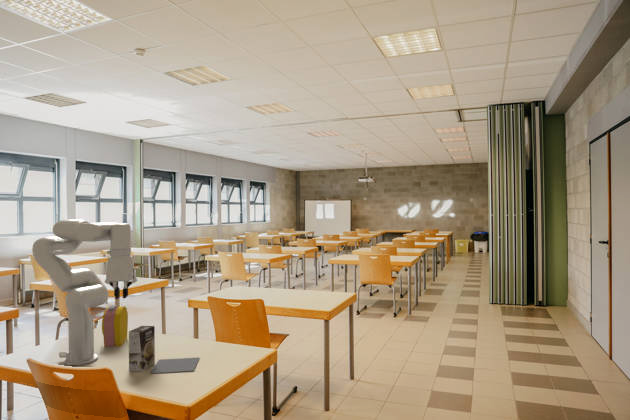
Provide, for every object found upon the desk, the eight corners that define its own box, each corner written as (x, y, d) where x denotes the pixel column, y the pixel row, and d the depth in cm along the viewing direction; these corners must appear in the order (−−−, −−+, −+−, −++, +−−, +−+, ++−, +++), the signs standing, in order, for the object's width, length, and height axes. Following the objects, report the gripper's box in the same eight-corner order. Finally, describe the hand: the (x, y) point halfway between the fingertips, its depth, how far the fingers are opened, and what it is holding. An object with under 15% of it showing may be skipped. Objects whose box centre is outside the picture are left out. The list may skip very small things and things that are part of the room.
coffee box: (142, 372, 168) (142, 331, 168) (128, 371, 169) (127, 331, 169) (155, 363, 177) (155, 325, 177) (142, 362, 178) (141, 325, 178)
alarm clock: (110, 338, 212) (110, 302, 212) (128, 337, 214) (127, 301, 214) (101, 348, 198) (101, 309, 198) (119, 346, 199) (119, 308, 199)
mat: (149, 374, 166) (149, 373, 166) (158, 360, 180) (158, 359, 180) (193, 371, 168) (193, 370, 168) (199, 358, 183) (199, 357, 183)
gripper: (96, 254, 167) (97, 300, 167) (138, 253, 169) (138, 299, 169) (103, 252, 174) (104, 296, 174) (143, 251, 176) (144, 295, 176)
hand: (121, 297), depth 172 cm, fingers closed
